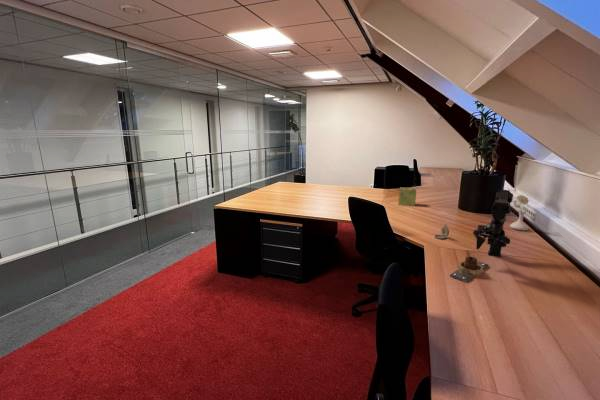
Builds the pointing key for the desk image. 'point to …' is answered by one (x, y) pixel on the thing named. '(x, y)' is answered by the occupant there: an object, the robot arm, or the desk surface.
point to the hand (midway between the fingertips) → (484, 251)
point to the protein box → (407, 196)
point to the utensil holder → (470, 262)
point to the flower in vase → (520, 214)
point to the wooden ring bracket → (468, 271)
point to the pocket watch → (443, 230)
